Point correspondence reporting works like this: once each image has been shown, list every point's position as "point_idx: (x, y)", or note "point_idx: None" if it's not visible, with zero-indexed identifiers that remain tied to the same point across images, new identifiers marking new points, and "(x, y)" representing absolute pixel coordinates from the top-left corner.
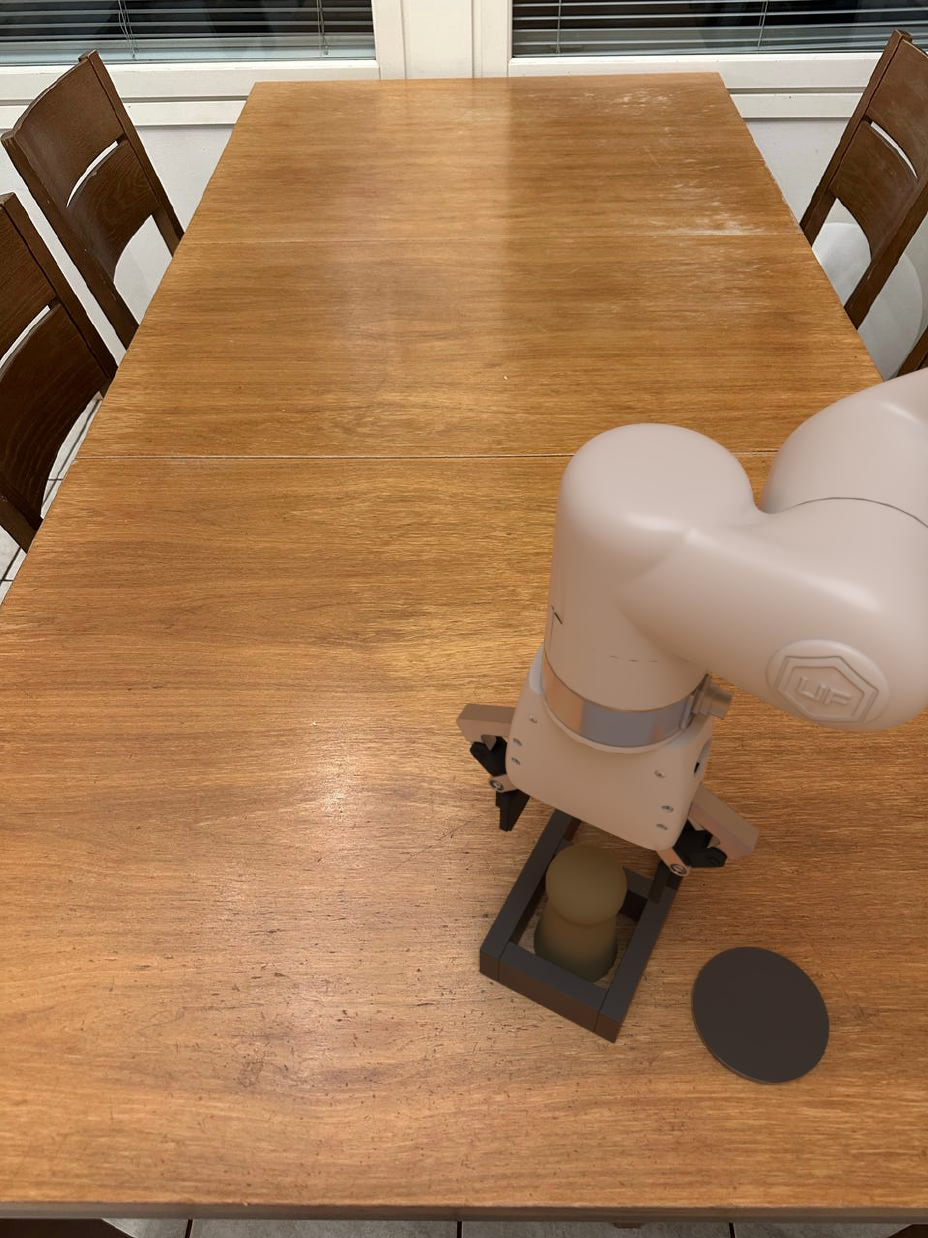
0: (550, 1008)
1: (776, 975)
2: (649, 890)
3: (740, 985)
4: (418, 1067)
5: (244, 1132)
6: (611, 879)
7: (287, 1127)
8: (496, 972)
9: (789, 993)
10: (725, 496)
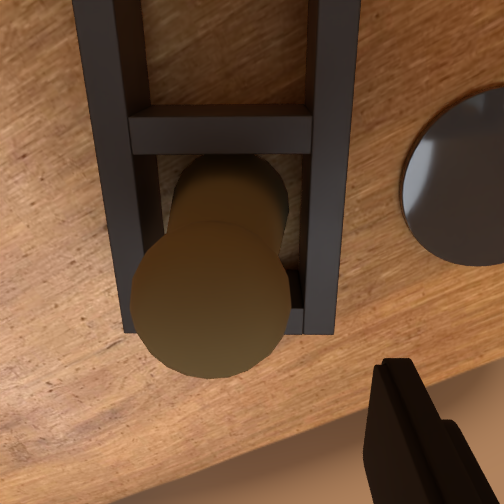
0: None
1: None
2: (372, 497)
3: (464, 162)
4: (147, 393)
5: (54, 483)
6: (255, 319)
7: (81, 469)
8: None
9: None
10: None
